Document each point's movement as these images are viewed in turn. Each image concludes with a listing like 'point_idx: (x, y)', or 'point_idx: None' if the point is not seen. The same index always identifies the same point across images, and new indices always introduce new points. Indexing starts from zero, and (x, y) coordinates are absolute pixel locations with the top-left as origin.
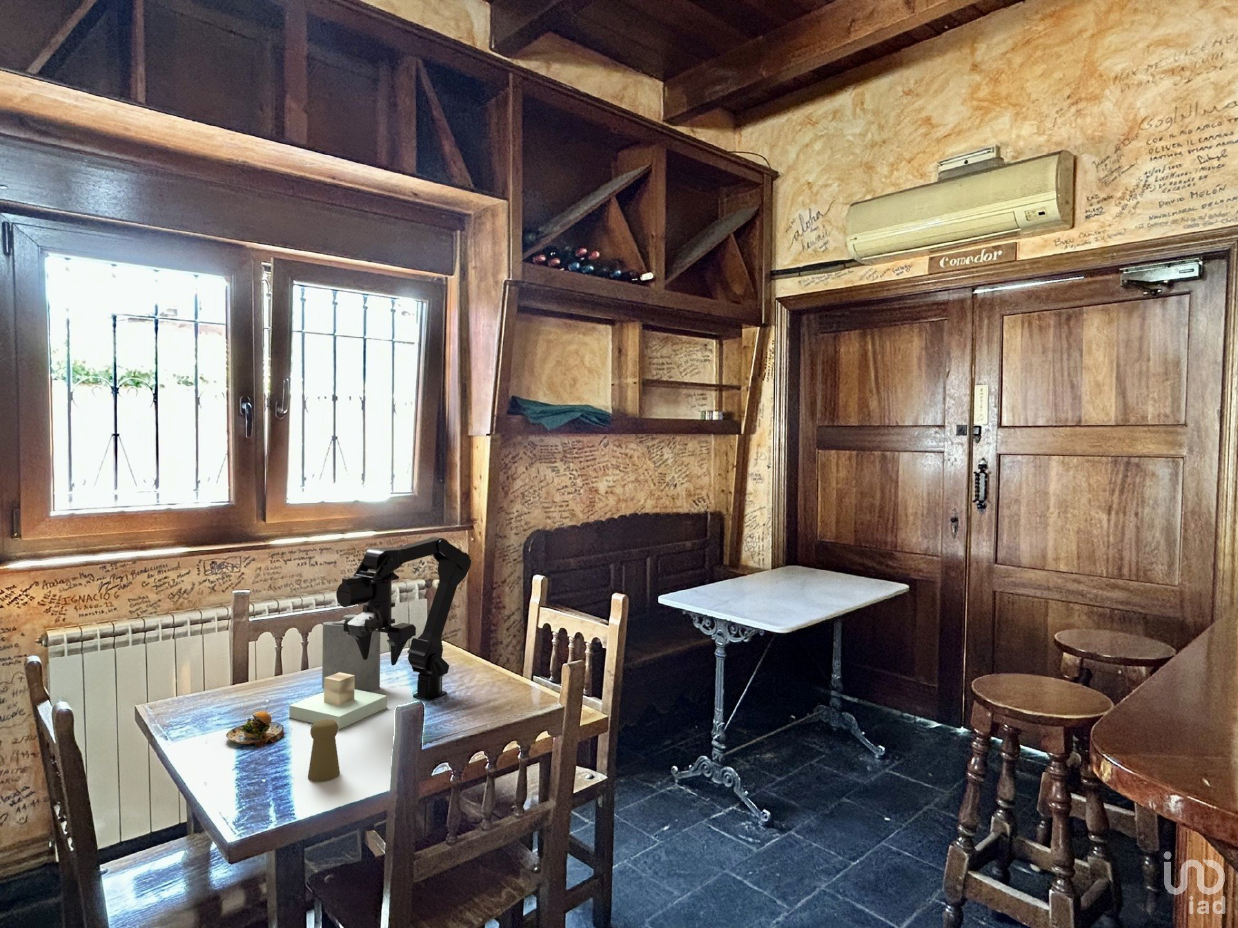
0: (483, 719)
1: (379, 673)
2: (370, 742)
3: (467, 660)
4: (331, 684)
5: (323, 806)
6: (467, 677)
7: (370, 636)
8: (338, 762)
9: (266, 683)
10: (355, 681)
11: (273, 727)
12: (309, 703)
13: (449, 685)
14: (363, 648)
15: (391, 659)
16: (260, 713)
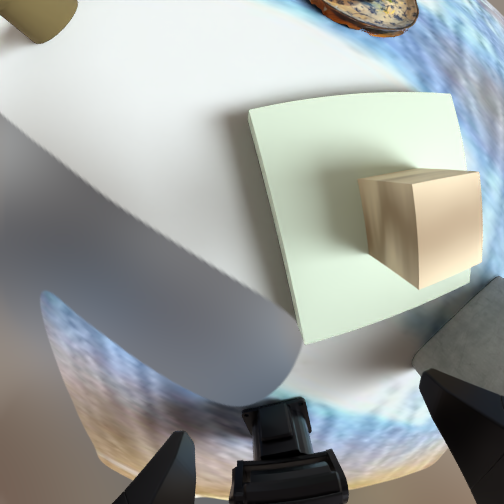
0: (77, 393)
1: None
2: (91, 143)
3: (358, 485)
4: (435, 175)
5: (3, 19)
6: None
7: (475, 490)
8: (27, 35)
9: None
10: (460, 332)
11: (378, 23)
12: (433, 133)
13: None
14: (467, 416)
15: (167, 458)
16: None
